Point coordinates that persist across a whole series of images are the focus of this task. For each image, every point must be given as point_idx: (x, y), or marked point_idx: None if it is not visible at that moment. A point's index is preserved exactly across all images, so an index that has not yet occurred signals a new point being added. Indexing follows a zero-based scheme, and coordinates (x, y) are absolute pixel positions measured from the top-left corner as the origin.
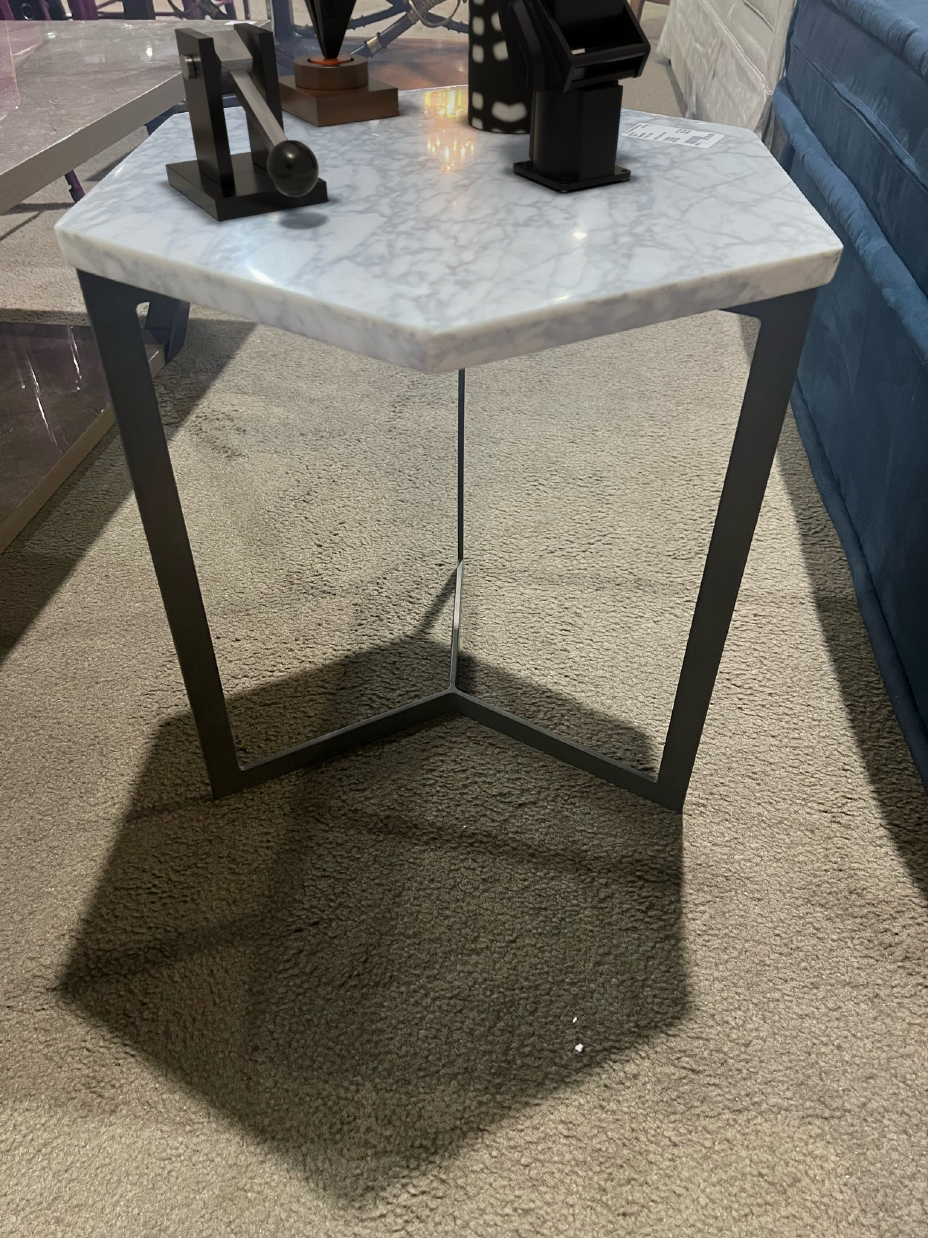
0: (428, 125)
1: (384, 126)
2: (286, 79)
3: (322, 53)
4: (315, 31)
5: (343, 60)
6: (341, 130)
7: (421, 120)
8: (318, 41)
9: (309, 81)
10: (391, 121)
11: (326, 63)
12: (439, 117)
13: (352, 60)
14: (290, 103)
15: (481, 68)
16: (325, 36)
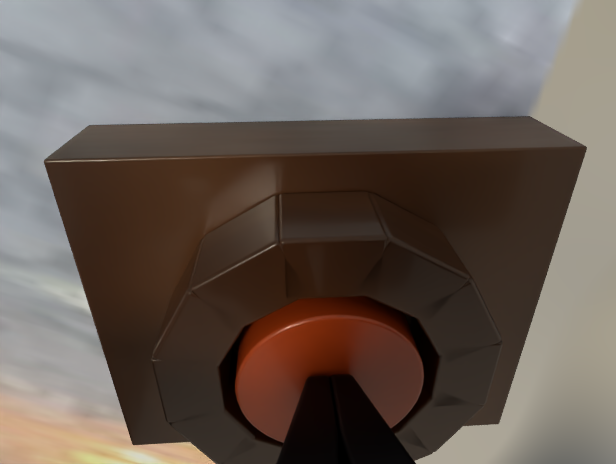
0: (6, 396)
1: (28, 306)
2: (493, 197)
3: (349, 380)
4: (397, 454)
5: (243, 409)
6: (9, 176)
7: (72, 401)
8: (373, 416)
9: (243, 223)
10: (88, 342)
11: (250, 344)
12: (91, 440)
13: None
14: (347, 129)
15: None
16: (279, 456)
